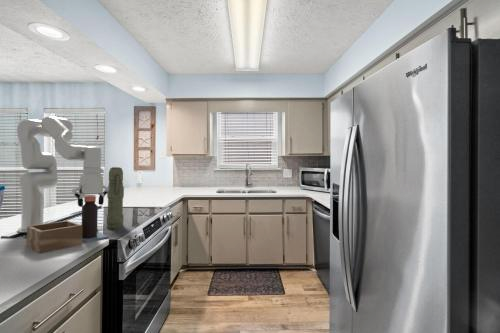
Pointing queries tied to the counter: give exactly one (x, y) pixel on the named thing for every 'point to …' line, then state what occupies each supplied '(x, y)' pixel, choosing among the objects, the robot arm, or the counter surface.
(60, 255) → the counter surface
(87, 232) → the vinegar
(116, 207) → the thermos
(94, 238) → the mat
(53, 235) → the crate
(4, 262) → the counter surface
